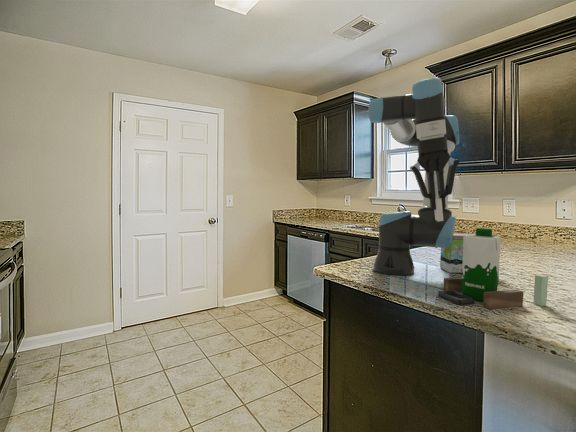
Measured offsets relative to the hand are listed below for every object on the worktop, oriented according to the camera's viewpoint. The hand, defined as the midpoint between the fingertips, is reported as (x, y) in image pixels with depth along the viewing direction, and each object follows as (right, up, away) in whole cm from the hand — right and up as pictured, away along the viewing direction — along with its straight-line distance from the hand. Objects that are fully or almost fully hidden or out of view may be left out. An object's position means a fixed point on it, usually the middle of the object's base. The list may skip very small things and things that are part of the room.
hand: (439, 220), depth 95 cm
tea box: (+26, -21, +35) cm, 48 cm away
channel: (+12, -23, 0) cm, 25 cm away
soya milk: (+11, -23, 0) cm, 26 cm away
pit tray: (+4, -23, -2) cm, 23 cm away
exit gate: (+23, -22, +3) cm, 32 cm away
